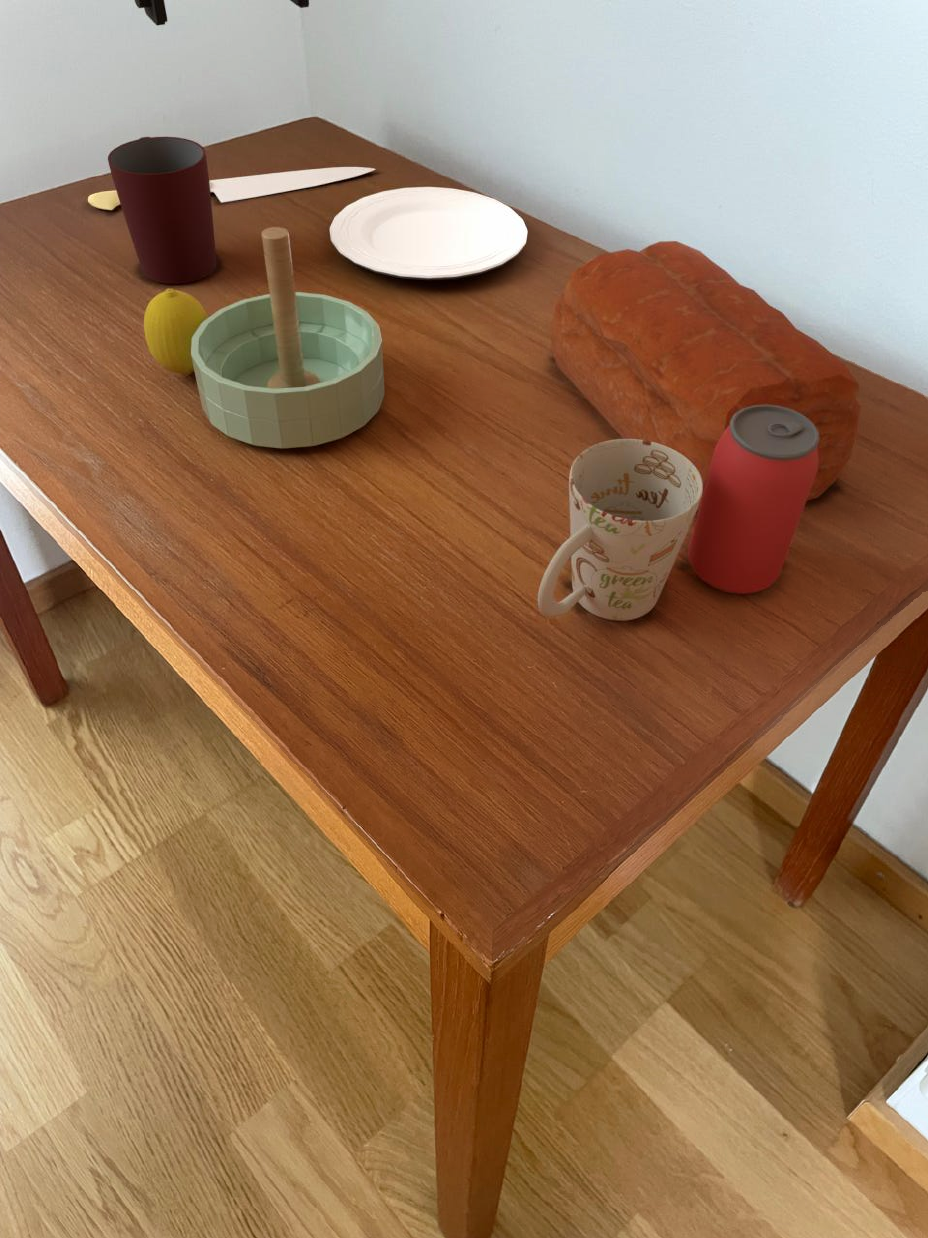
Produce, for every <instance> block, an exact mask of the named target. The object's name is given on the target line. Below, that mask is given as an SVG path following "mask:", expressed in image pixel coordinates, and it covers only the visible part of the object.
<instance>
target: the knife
mask: <svg viewBox="0 0 928 1238" xmlns="http://www.w3.org/2000/svg"><path fill="white" fill-rule="evenodd" d="M375 170H376V168H373V167H361V166H337V167H324V168H313V169H312V168H311V169H302V170H291V171H283V172H273V173H263V174H254V175H246V176H237V177H228V178H218V179H211V180H210V179H209V184H210V193H214V195H215V196H216V198H217V199H218V200H219V202H220V203H221V204H222V203H228V202H229V203H230V202H235V201H239V200H246V199H253V198H257V197H263V196H268V195H274V194H279V193H286V192H290V191H296V190H301V189H306V188H313V187H318V186H321V185H326V184H329V183H335V182H339V181H343V180H348V179H351V178H356V177H359V176H362V175H365V174H368V173H371V172H373V171H375ZM87 203H88V204H89V205H90V206H92V207H94V208H96V209H102V210H108V211H113V210H115V208H116V207H118V206H121V204H120V201H119V198H118V195H117V191H116V189H115V190H106V191H99V192H95V193H92V194H90V195H88V197H87Z"/></svg>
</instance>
